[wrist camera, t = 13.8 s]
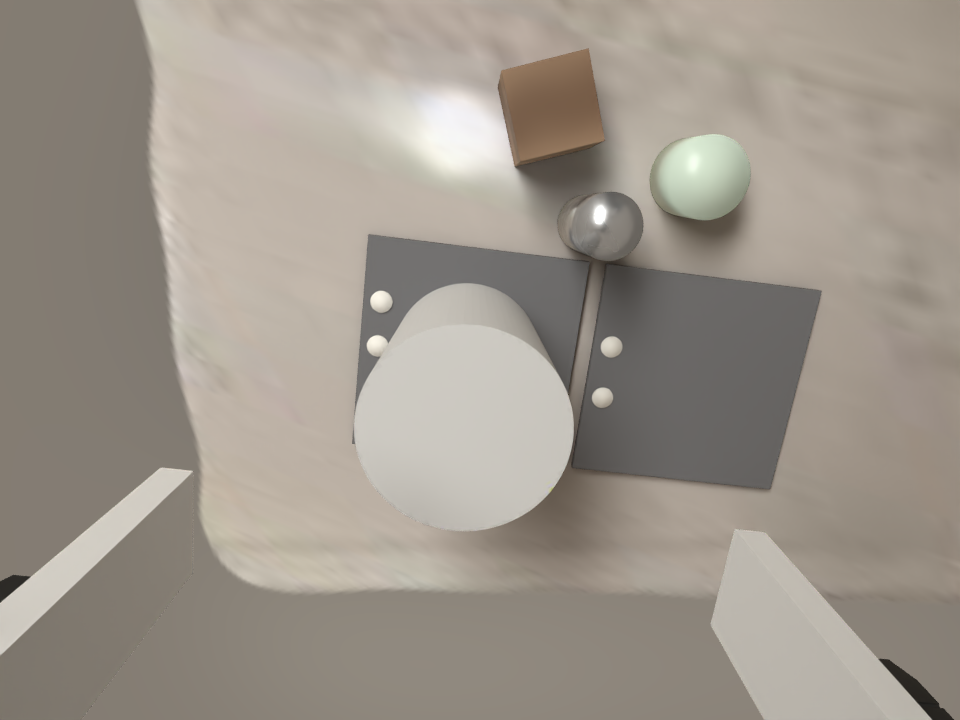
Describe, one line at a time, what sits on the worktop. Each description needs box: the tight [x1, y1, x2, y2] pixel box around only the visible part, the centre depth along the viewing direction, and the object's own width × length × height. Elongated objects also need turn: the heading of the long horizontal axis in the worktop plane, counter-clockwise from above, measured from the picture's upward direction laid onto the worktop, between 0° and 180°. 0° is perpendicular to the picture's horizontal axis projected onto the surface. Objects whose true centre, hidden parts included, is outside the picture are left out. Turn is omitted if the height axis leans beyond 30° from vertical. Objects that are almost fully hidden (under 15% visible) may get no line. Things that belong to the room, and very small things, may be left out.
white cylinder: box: [354, 283, 574, 531], centre depth 28 cm, size 8×8×12 cm
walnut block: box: [498, 48, 605, 167], centre depth 30 cm, size 4×4×4 cm
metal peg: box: [557, 192, 643, 261], centre depth 30 cm, size 3×3×6 cm
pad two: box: [572, 264, 821, 489], centre depth 35 cm, size 12×12×1 cm
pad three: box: [352, 234, 590, 444], centre depth 34 cm, size 12×12×1 cm
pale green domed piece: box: [650, 134, 750, 220], centre depth 31 cm, size 4×4×3 cm
